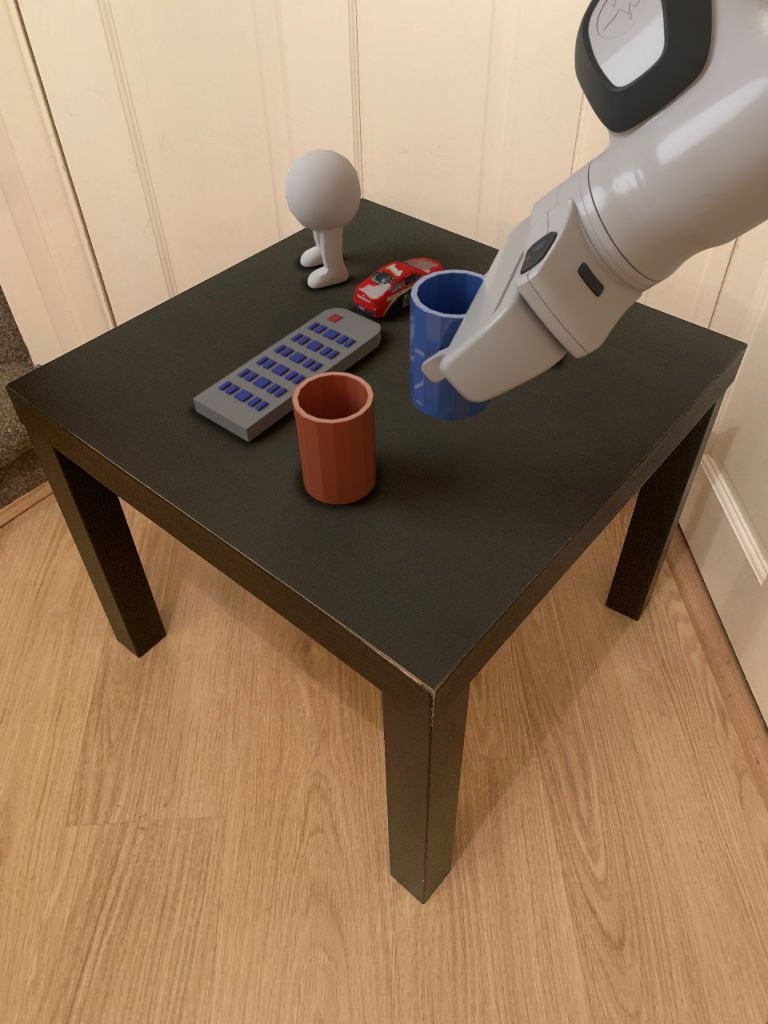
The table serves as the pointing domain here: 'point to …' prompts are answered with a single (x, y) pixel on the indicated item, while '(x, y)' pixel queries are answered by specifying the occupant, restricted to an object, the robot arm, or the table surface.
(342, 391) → the terracotta cup
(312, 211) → the toy character
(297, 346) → the remote control
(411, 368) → the blue cup
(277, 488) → the table surface
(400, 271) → the race car
